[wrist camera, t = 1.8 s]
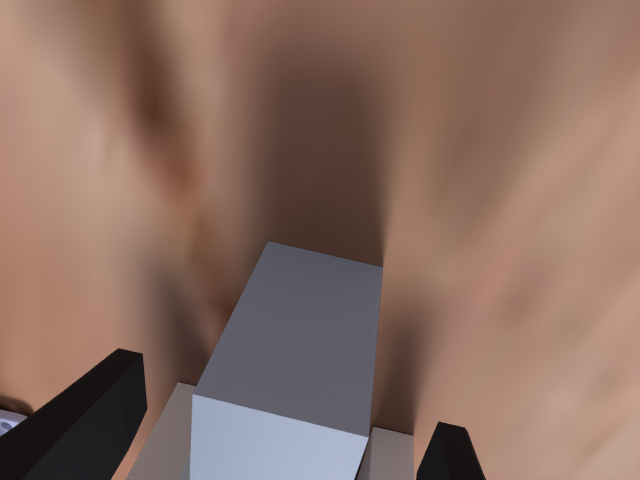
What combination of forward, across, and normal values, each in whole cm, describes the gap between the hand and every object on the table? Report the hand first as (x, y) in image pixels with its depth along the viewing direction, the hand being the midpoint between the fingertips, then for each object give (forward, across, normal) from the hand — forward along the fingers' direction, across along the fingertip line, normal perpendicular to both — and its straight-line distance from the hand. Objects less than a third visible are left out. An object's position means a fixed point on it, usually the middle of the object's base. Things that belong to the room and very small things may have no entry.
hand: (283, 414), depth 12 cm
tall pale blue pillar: (+4, 0, +4) cm, 6 cm away
